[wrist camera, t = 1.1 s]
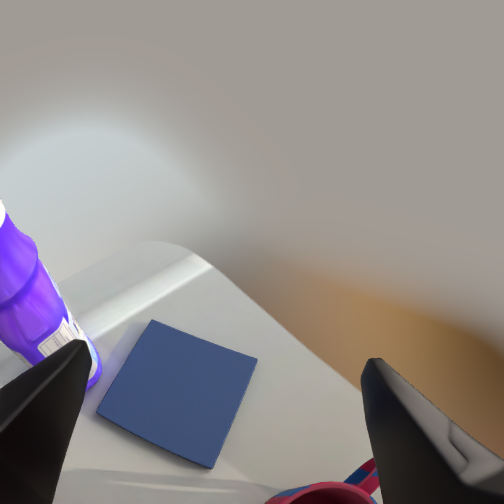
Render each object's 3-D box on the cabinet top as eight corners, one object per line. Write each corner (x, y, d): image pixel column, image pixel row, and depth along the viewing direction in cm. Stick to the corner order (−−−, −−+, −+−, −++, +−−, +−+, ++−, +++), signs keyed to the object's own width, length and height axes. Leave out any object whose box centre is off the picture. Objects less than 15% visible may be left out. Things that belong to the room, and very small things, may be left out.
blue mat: (212, 469, 19) (211, 468, 19) (97, 413, 21) (95, 411, 21) (257, 361, 26) (257, 358, 26) (153, 322, 28) (151, 318, 27)
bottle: (118, 375, 24) (25, 207, 11) (71, 415, 20) (-67, 275, 8) (75, 323, 27) (-2, 162, 14) (33, 356, 23) (-71, 209, 11)
